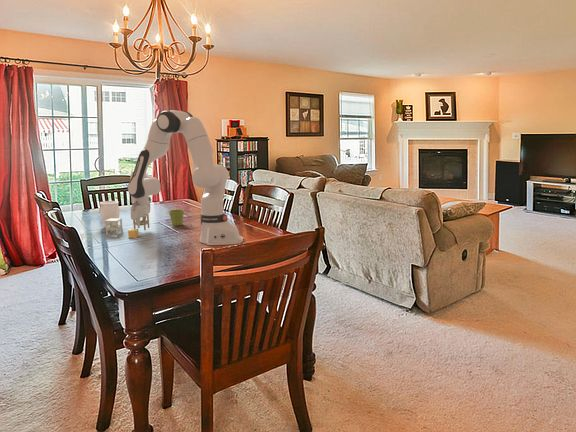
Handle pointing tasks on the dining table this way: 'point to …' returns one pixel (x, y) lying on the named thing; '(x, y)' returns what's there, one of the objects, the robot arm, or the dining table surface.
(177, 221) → the plant pot
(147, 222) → the tan square stool
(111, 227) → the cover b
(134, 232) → the letter block
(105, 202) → the jar
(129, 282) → the dining table surface
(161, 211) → the dining table surface
